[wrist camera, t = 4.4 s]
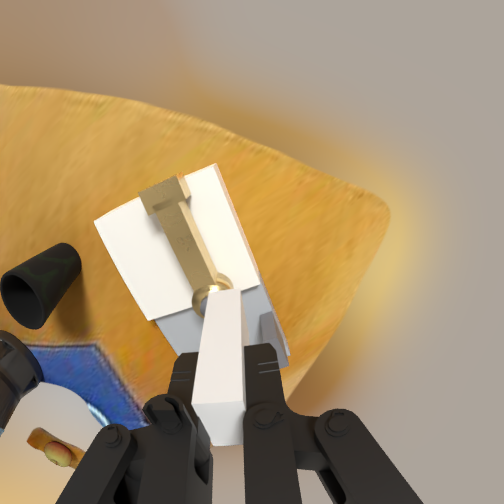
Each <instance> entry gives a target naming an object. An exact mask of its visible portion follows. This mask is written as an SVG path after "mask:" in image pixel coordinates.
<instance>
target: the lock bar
mask: <svg viewBox="0 0 504 504" xmlns="http://www.w3.org/2000/svg"><path fill="white" fill-rule="evenodd" d="M138 194H139V197H140V199H141V201H142V203H143V206H144V208H145V210H146V212H147V214H148V216H149V215H151V214H154V213H156V215H157V217H158V219H159V222H160V224H161V226H162V228H163V230H164V232H165V234H166V237H167V239H168V241H169V243H170V245H171V247H172V249H173V251H174V253H175V255H176V257H177V259H178V261H179V263H180V265H181V267H182V269H183V271H184V273H185V275H186V277H187V279H188V281H189V283H190V285H191V287H192V289H193V291H194V292H193V296H192V308H193V310H194V311H195V313H196V314H197V315H198V316H200V317H201V318H203V319H204V318H205V317H204V316H203V315H202V314H201V312H200V305H201V301H202V299H203V298H204V297H206V296H208V294H209V292H214V291H222V290H229V289H234V286H233V283H232V281H231V280H230V279H229V278H228V277H227V276H226V275H224V274H222V273H219V272H217V270H216V267H215V265H214V263H213V261H212V259H211V256H210V254H209V252H208V250H207V248H206V245H205V243H204V241H203V239H202V236H201V234H200V232H199V230H198V227H197V225H196V223H195V221H194V218H193V216H192V214H191V211H190V209H189V207H188V205H187V202H186V199H187V198H188V197H189V196H190V194H191V192H190V189H189V187H188V185H187V182H186V180H185V177H184V175H183V173H182V172H180V173H178V174H176V175H174V176H171V177H169V178H167V179H165V180H162V181H160V182H158V183H156V184H154V185H152V186H149V187H147V188H146V189H144V190H142V191H140V192H138Z"/></svg>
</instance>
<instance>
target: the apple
mask: <svg viewBox="0 0 504 504" xmlns="http://www.w3.org/2000/svg"><path fill="white" fill-rule="evenodd" d="M44 452H45V455H46V457H47V458H48V459H49V460H50V461H52V462H53V463H55V464H56V465H59V466H62V467H67V466H69V465H70V464H71V461H72V455H71V452H70V451H69V449H68V448H67V447H65V446H64V445H62V444H61V443H58V442H49V443H48V444H46V446H45V449H44Z"/></svg>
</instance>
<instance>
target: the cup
mask: <svg viewBox="0 0 504 504" xmlns="http://www.w3.org/2000/svg"><path fill="white" fill-rule="evenodd" d="M80 271H81V259H80V256H79V254H78V253H77V251H76V250H75V249H74V248H73V247H72V246H71V245H69V244H67V243H59V244H57V245H55V246H53V247H51V248H49V249H47V250H45V251H44V252H42V253H40V254H38V255H36V256H34V257H32V258H31V259H29V260H27V261H25V262H23V263H22V264H20V265H18V266H16V267H15V268H13V269H11V270H10V271H8V272H6V273H5V274H4V275H3V276H2V278H1V282H0V292H1V296H2V299H3V302H4V304H5V306H6V308H7V310H8V311H9V313H10V314H11V315H12V317H13V318H14V319H15V320H16V321H17V322H18V323H20V324H21V325H23V326H24V327H26V328H29V329H39V328H41V327H42V326H43V325H44V323H45V322H46V320H47V319H48V317H49V316H50V314H51V313H52V311H53V310H54V308H55V307H56V305H57V304H58V302H59V301H60V299H61V298H62V296H63V295H64V294H65V292H66V291H67V289H68V288H69V287H70V285H71V284H72V282H73V281H74V280H75V278H76V277H77V276H78V274H79V273H80Z"/></svg>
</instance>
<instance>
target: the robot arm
mask: <svg viewBox="0 0 504 504" xmlns="http://www.w3.org/2000/svg"><path fill="white" fill-rule="evenodd" d="M172 372H173V374H172V376H171V382H170V384H169V389H168V393H167V394H162V395H157V396H155V397H153V398H151V399H150V400H149V401H148V402H147V403H145V405H144V407H143V409H142V410H143V412H144V413H145V415H146V416H147V418H148V419H149V420H150V422H151V423H152V424H151V425H149V426H146V427H143V428H138V429H134V430H128V429H127V428H126V427H125V426H123V425H121V424H110V425H107V426H105V427H104V428H102V429H101V430H100V432H98V434H97V435H96V437H95V439H94V440H93V442H92V444H91V445H90V447H89V449H88V450H87V452H86V453H85V455H84V456H83V458H82V460H81V461H80V463H79V465H78V466H77V468H76V470H75V471H74V473H73V475H72V476H71V478H70V480H69V481H68V483H67V485H66V486H65V488H64V490H63V492H62V493H61V495H60V497H59V498H58V500H57V502H56V503H55V504H212V480H213V457H212V454H211V452H210V441H211V442H212V444H213V446H229V445H244V475H245V503H246V504H302V500H301V493H300V487H299V481H298V475H297V469H305V470H314V471H315V472H316V473H317V475H318V477H319V479H320V481H321V482H322V484H323V486H324V488H325V490H326V491H327V493H328V495H329V497H330V498H331V500H332V502H333V504H423V502H422V501H421V500H420V498H419V497H418V496H417V494H416V493H415V492H414V491H413V490H412V488H411V487H410V485H409V484H408V483H407V482H406V480H405V479H404V477H403V476H402V475H401V473H400V472H399V471H398V470H397V468H396V467H395V466H394V464H393V463H392V462H391V460H390V459H389V458H388V456H387V455H386V454H385V452H384V451H383V450H382V448H381V447H380V446H379V444H378V443H377V442H376V440H375V439H374V438H373V436H372V435H371V433H370V432H369V431H368V429H367V428H366V427H365V425H364V424H363V423H362V421H361V420H360V419H359V418H358V416H356V415H355V414H354V413H353V412H352V411H349V410H346V409H333V410H329V411H327V412H325V413H323V414H322V415H320V417H313V416H304V415H299V414H297V413H295V412H293V411H292V410H290V409H289V407H288V406H287V405H286V402H285V399H284V393H283V387H282V381H281V375H280V370H279V363H278V358H277V352H276V350H275V348H274V347H273V346H272V345H271V344H270V343H263V344H256V345H249V331H248V326H247V321H246V316H245V310H244V305H243V300H242V294H241V289H240V288H236V289H229V290H222V291H214V292H209V294H208V300H207V306H206V312H205V318H204V324H203V330H202V336H201V342H200V349H199V352H188V353H181V354H180V356H179V357H178V358H177V360H176V361H175V363H174V367H173V371H172ZM41 380H42V371H41V368H40V366H39V364H38V362H37V360H36V359H35V357H34V356H33V355H32V353H31V352H30V351H29V350H28V348H27V347H26V346H25V345H24V344H23V343H22V342H21V341H20V340H18V339H17V338H16V337H15V336H13V335H12V334H10V333H8V332H6V331H3V330H0V436H1V434H2V433H3V432H4V429H5V427H6V425H7V423H8V421H9V419H10V418H11V416H12V414H13V412H14V410H15V408H16V406H17V405H18V403H19V401H20V399H21V398H22V397H24V396H25V395H26V394H28V393H29V392H30V391H32V390H33V389H34V388H36V387H37V386H38V384H39V383H40V381H41Z"/></svg>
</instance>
